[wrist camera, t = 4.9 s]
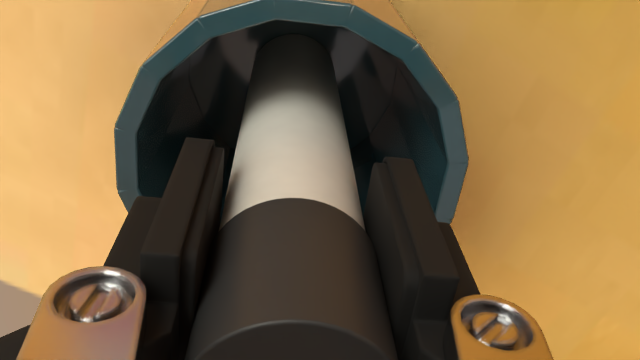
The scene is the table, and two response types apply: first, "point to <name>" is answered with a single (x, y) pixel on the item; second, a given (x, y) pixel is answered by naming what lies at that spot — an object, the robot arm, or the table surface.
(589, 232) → the table surface
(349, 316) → the marker
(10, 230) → the table surface
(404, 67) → the pen holder
